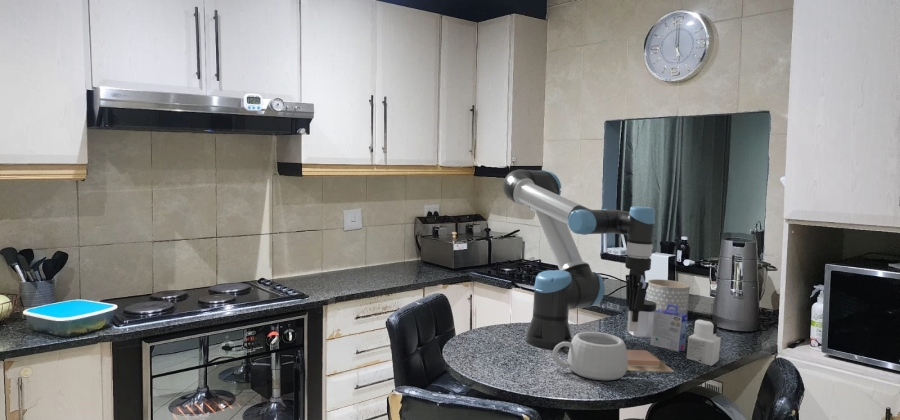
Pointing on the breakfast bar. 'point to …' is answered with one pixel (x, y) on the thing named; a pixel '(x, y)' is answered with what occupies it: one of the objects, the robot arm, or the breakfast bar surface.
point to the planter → (668, 294)
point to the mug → (595, 356)
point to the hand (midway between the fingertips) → (632, 330)
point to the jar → (645, 320)
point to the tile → (641, 358)
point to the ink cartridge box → (669, 329)
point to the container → (704, 342)
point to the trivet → (661, 367)
